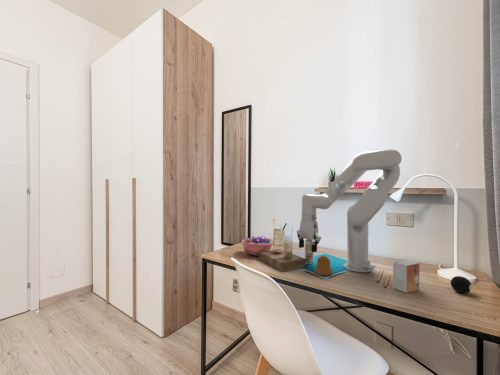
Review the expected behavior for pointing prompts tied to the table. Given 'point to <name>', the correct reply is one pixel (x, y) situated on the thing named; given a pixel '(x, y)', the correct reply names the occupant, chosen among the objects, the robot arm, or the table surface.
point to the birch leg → (308, 251)
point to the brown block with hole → (282, 258)
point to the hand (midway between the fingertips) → (307, 249)
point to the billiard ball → (461, 284)
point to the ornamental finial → (323, 266)
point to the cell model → (256, 245)
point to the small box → (406, 275)
